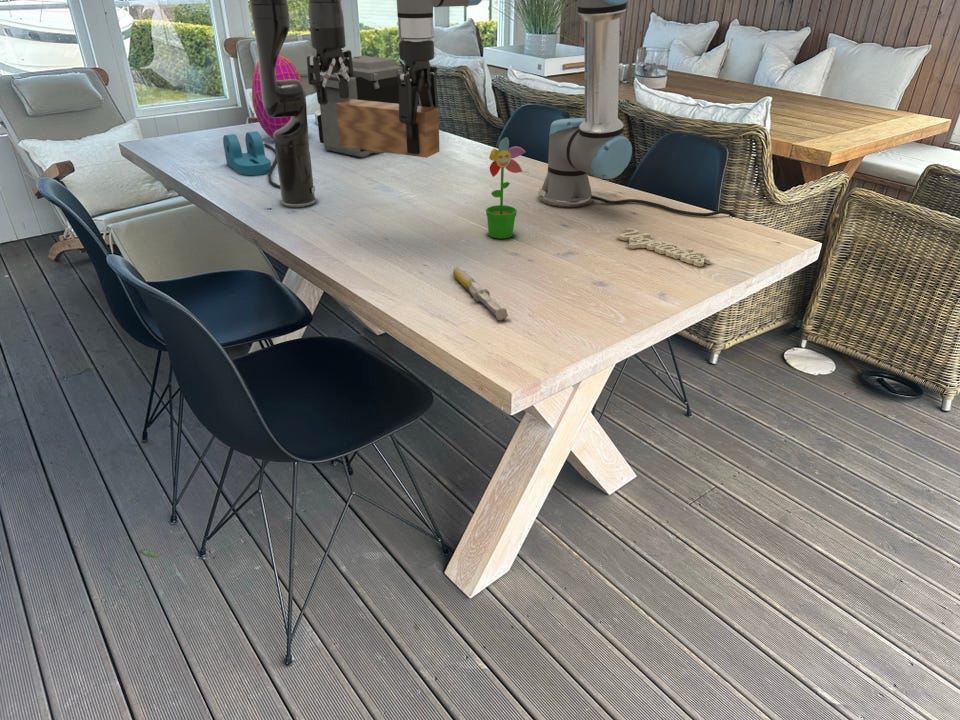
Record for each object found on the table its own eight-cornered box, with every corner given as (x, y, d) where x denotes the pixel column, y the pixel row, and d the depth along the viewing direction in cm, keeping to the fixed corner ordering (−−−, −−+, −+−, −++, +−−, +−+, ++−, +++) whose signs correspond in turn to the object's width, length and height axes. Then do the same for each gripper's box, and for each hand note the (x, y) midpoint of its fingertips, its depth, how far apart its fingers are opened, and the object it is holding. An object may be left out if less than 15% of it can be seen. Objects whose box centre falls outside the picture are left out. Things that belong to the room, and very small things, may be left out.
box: (439, 151, 159) (438, 107, 154) (426, 157, 154) (425, 112, 149) (354, 140, 168) (350, 98, 163) (339, 146, 163) (335, 103, 158)
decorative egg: (293, 132, 276) (283, 50, 261) (319, 140, 264) (310, 56, 249) (249, 139, 265) (236, 54, 250) (273, 148, 253) (261, 60, 238)
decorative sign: (605, 235, 174) (629, 227, 180) (604, 239, 175) (629, 230, 181) (694, 266, 158) (718, 256, 163) (693, 270, 158) (717, 260, 164)
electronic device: (383, 133, 276) (378, 52, 261) (425, 141, 265) (422, 56, 250) (314, 150, 251) (304, 61, 235) (358, 160, 240) (350, 67, 224)
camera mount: (227, 164, 233) (221, 132, 227) (257, 160, 238) (252, 129, 233) (244, 176, 220) (239, 143, 215) (276, 172, 225) (271, 139, 220)
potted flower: (492, 242, 172) (494, 140, 160) (478, 232, 178) (479, 133, 166) (525, 236, 176) (529, 136, 163) (510, 227, 182) (513, 130, 169)
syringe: (449, 274, 155) (449, 263, 153) (465, 272, 156) (464, 260, 154) (490, 323, 135) (491, 310, 133) (508, 319, 136) (508, 307, 134)
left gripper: (331, 21, 160) (338, 95, 168) (293, 26, 149) (302, 104, 157) (359, 23, 157) (364, 97, 165) (321, 28, 146) (329, 107, 154)
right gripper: (422, 34, 155) (426, 139, 166) (376, 43, 140) (384, 157, 151) (452, 35, 152) (454, 142, 164) (408, 45, 137) (414, 161, 149)
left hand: (333, 101), depth 161 cm, fingers open, 8 cm apart
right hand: (420, 149), depth 158 cm, fingers closed on box, 6 cm apart
